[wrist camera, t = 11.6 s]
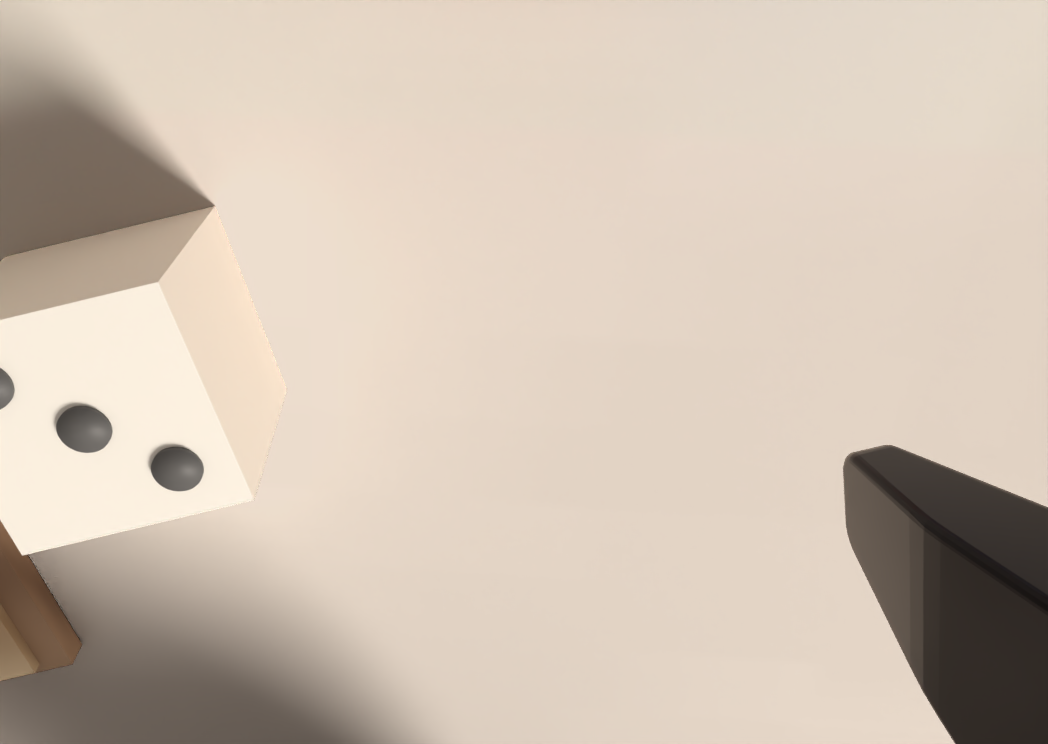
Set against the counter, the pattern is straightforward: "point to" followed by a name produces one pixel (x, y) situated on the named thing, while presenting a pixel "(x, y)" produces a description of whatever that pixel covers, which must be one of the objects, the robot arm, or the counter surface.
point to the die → (130, 382)
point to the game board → (29, 618)
